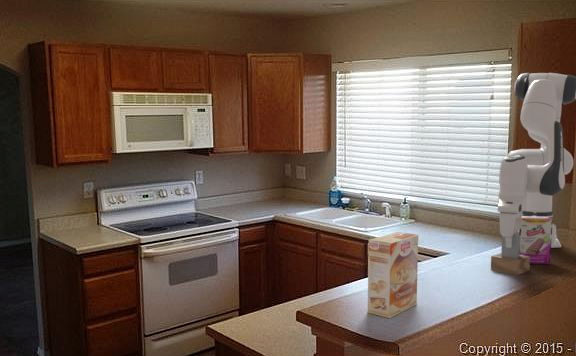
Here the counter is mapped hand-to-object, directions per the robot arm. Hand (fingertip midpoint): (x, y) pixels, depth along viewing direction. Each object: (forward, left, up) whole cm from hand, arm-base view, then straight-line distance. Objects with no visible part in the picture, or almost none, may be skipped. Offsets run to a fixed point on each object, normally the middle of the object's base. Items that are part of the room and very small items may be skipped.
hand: (511, 245), depth 189 cm
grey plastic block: (0, 0, -4) cm, 4 cm away
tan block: (0, 0, -9) cm, 9 cm away
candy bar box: (-15, +5, -9) cm, 18 cm away
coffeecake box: (+58, -20, -9) cm, 62 cm away
